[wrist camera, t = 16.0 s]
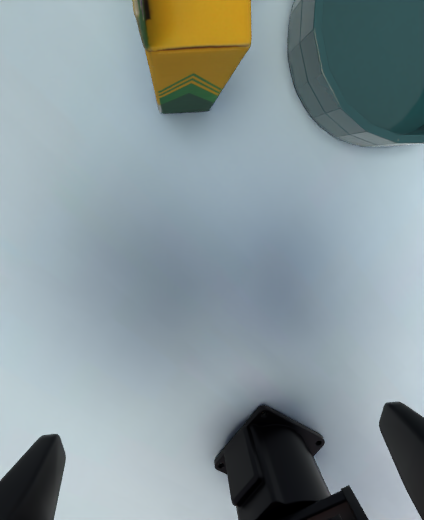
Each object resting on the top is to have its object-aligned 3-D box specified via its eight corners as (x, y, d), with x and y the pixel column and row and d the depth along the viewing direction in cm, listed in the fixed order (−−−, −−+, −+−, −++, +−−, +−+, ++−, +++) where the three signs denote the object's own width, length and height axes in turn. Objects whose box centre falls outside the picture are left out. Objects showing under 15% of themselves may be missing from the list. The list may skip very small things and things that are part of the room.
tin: (519, 17, 18) (598, -17, 14) (386, 184, 20) (428, 188, 16) (385, -153, 15) (445, -244, 12) (246, 62, 17) (263, 37, 14)
